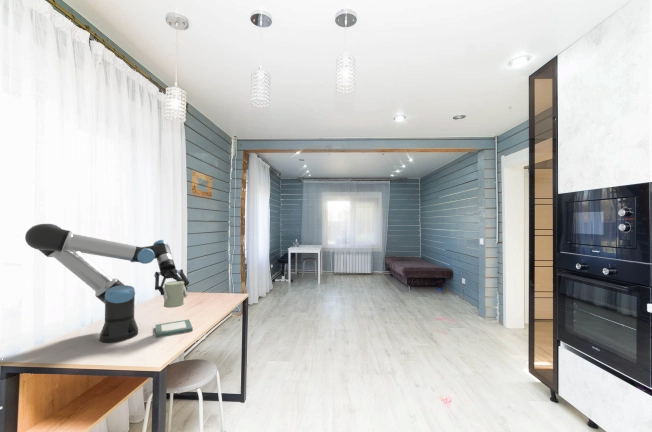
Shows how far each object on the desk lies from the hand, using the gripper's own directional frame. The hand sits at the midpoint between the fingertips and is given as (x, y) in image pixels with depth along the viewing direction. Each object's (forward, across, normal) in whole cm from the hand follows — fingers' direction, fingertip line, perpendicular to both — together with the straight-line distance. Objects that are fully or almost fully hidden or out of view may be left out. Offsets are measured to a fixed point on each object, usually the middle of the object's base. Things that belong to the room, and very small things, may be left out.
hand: (176, 297), depth 146 cm
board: (+10, 0, -14) cm, 17 cm away
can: (+1, 0, -5) cm, 5 cm away
